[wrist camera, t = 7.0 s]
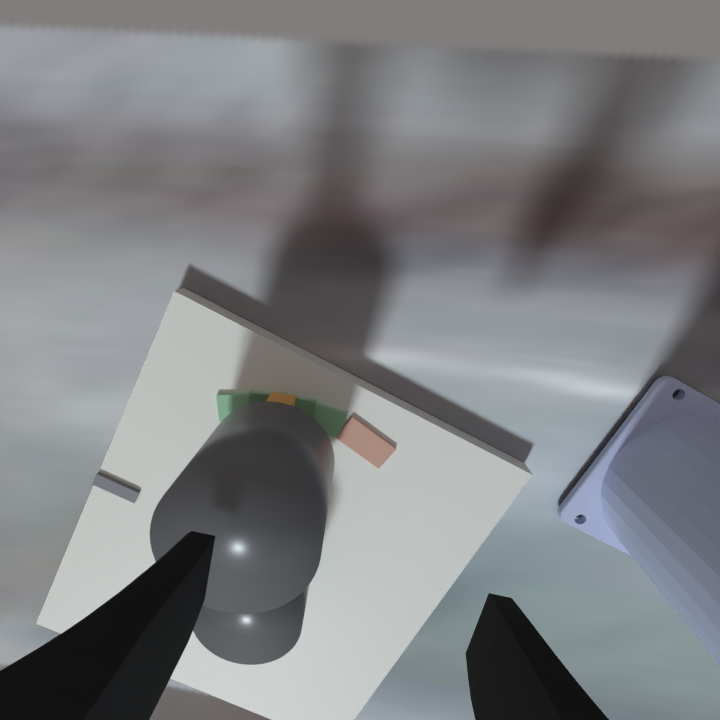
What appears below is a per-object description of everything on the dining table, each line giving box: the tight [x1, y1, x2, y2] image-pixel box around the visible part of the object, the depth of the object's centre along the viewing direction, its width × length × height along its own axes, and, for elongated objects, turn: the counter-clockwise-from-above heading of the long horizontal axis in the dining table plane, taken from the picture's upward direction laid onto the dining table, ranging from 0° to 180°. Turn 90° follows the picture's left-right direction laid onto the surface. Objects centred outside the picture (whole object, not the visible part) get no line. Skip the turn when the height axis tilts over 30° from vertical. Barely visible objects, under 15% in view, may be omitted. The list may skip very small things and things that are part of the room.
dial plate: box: [36, 288, 532, 720], centre depth 22 cm, size 17×19×1 cm
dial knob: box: [150, 392, 335, 665], centre depth 17 cm, size 11×5×6 cm, turn 171°
